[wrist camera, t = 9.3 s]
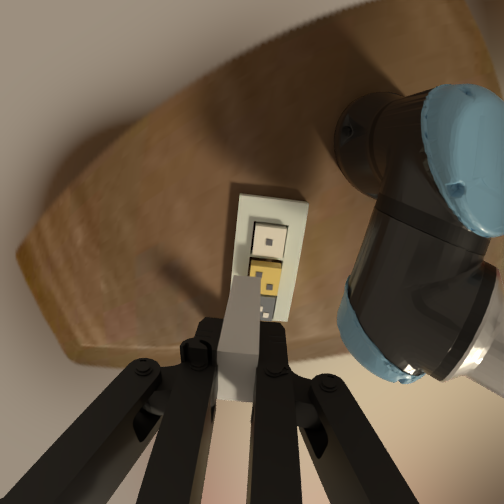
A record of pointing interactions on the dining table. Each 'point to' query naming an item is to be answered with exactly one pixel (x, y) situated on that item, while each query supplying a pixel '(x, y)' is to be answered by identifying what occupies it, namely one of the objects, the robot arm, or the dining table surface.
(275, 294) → the tile
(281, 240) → the tile
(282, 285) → the tile board
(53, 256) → the dining table surface
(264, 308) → the tile
